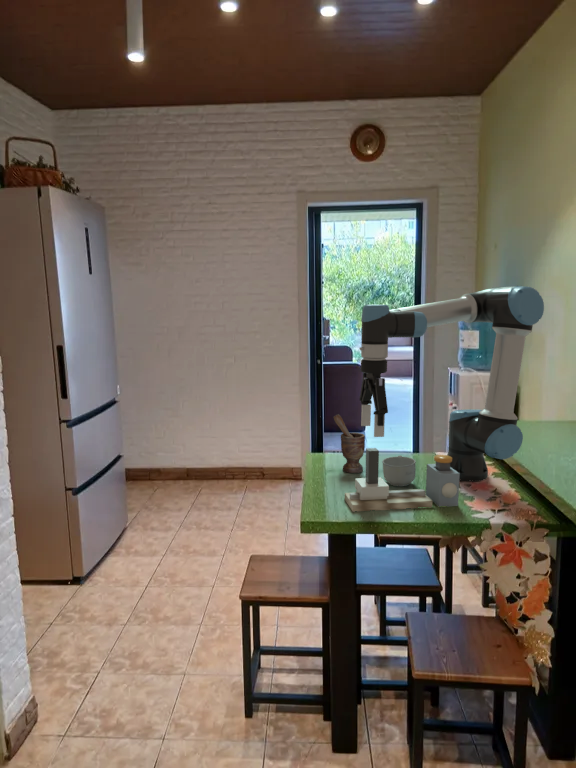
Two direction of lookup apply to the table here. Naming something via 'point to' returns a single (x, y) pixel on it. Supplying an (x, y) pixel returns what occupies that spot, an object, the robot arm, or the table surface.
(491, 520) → the table surface
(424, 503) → the rail board
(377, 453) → the carriage
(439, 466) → the button
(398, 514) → the table surface
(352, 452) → the mortar and pestle
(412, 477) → the teacup
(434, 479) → the blue-grey button box
